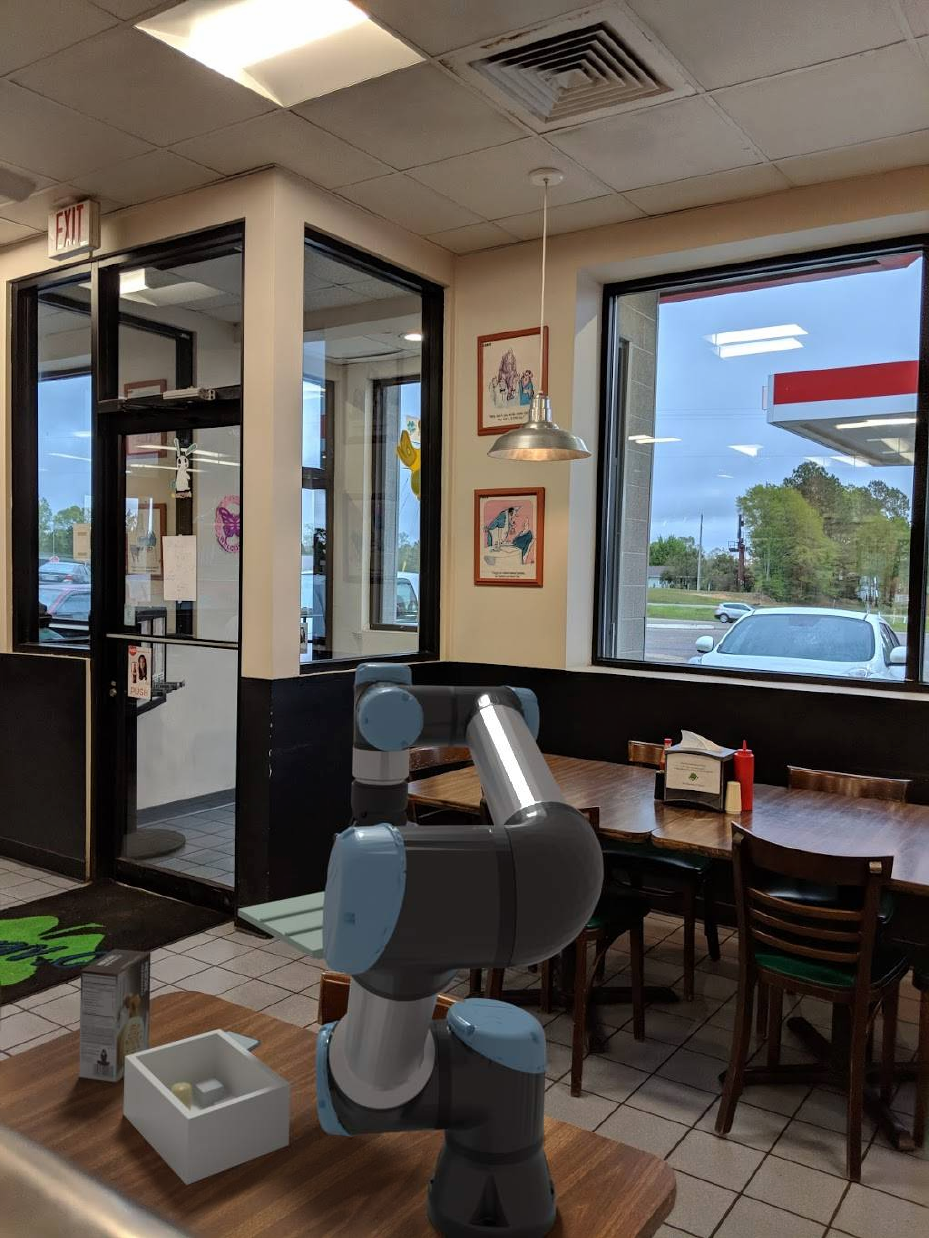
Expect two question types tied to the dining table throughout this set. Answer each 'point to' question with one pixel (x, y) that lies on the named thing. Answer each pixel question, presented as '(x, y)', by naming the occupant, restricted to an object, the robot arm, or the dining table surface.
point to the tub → (206, 1104)
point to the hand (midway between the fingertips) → (374, 954)
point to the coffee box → (113, 1013)
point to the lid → (292, 921)
